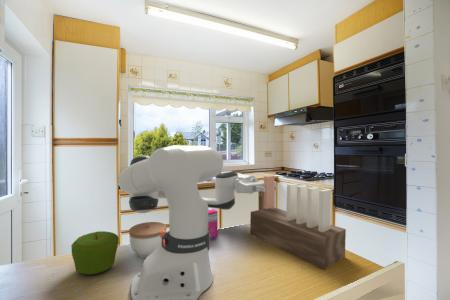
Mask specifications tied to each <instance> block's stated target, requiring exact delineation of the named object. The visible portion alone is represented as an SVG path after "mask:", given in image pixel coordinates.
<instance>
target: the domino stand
mask: <svg viewBox="0 0 450 300" xmlns="http://www.w3.org/2000/svg"><path fill="white" fill-rule="evenodd" d="M249 222H250V224H249V225H250V230H249V232H250V234H249V235H250V236H253V237H254V238H257V239H259V240H261V241H263V242H265V243H267V244H270V245H271V246H273V247H276V248H277V249H280V250H282V251H284V252H286V253H288V254H291V255H292V256H294V257H296V258H298V259H300V260H302V261H304V262H307V263H308V264H310V265H313V266H315V267H317V268H318V269H320V270H323V271H325V270H326V269H328V268H329V267H331V266H333V265H334V264H336V263H338V262H340V261H341V260H343V259H345V258H346V235H347V233H346V232H347V231H346V229H345V228H344V227H339V226H337V225H333V224H330V229H329V230H327V231H325V232H320V231H318V226H315V227H313V228H308V227H307V222H306V223H303V224H297V223H296V219H295V220H291V221H288V220H286V210H284V209H280V208H278V207H275V206H274V207H272V208H268V209H265V208H261V209H258V210H253V211H252V210H251V211H250V221H249Z"/></svg>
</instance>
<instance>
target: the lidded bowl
mask: <svg viewBox="0 0 450 300" xmlns="http://www.w3.org/2000/svg"><path fill="white" fill-rule="evenodd" d="M162 230H166V231H167V226H166V224H165V223H163V222H158V221H148V222H147V221H146V222H142V223H137V224H135V225H133V226H131V227H130V228H129V231H128V234H129V244H130V247H131V250H132V251H133V253H135V254H136V255H137V256H138V257H139V258H142V259H146V258H147V257H148V256H149V255H150V254H152V253H153V252H154V251H155V250H157V249H158V248H159V247H160V246H162V238H161V237H160V232H161V231H162Z"/></svg>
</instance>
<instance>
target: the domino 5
mask: <svg viewBox="0 0 450 300" xmlns="http://www.w3.org/2000/svg"><path fill="white" fill-rule="evenodd" d="M331 211H332V189H331V188H330V189H329V188H325V189H319V222H318V231H320V232H325V231H327V230H329V229H330V225H331V223H332V221H331V219H332V218H331V217H332V216H331V214H332V212H331Z"/></svg>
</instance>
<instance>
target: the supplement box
mask: <svg viewBox="0 0 450 300" xmlns="http://www.w3.org/2000/svg"><path fill="white" fill-rule="evenodd" d="M218 214H219V213H218V210H217V209H216V210H215V208H210V207H208V230H209V234H210V240H213V239H216V238H218V237H219V236H218V222H219V221H218Z"/></svg>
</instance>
